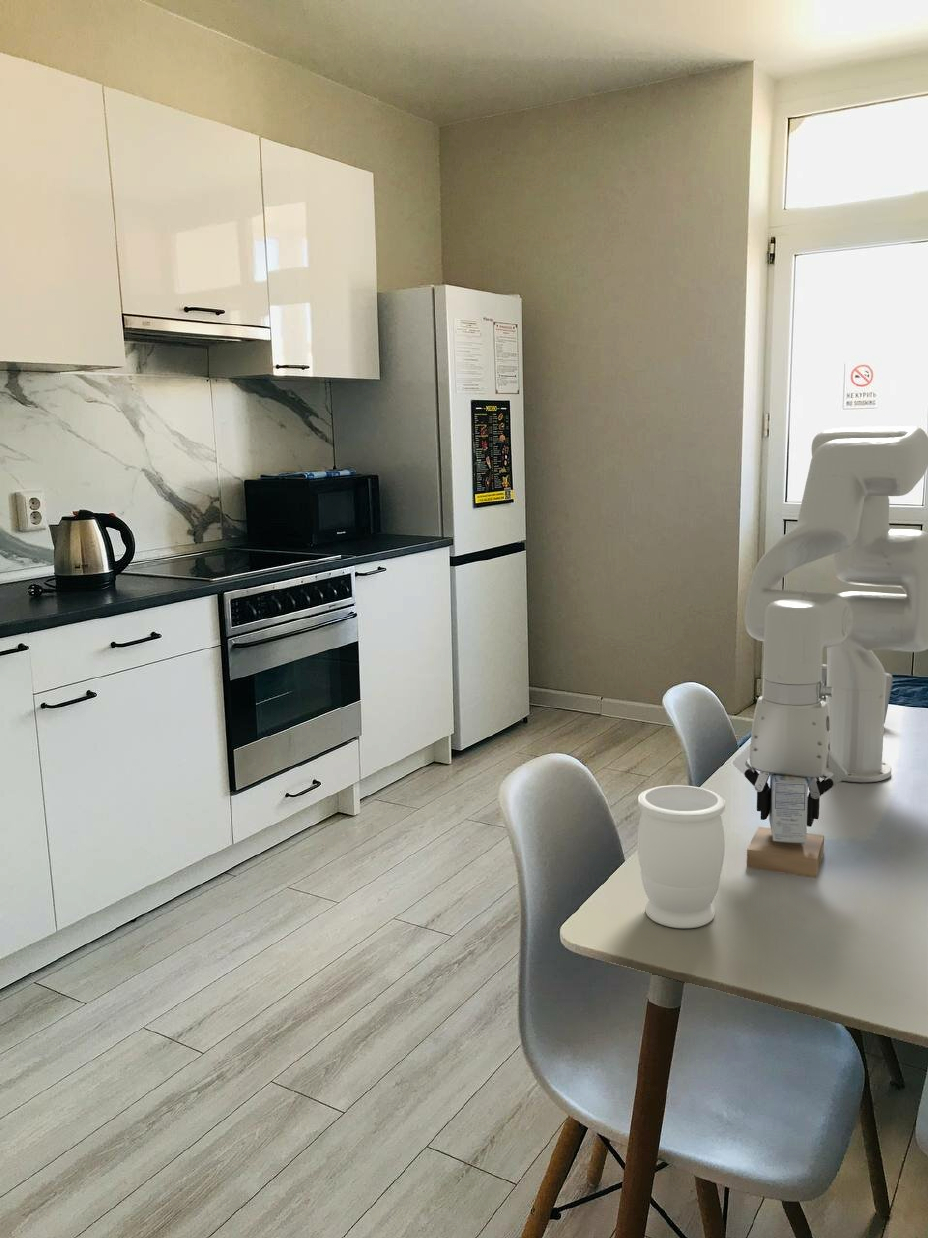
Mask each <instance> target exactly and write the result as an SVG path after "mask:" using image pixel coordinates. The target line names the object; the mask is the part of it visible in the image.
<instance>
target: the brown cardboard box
mask: <svg viewBox="0 0 928 1238" xmlns="http://www.w3.org/2000/svg"><path fill="white" fill-rule="evenodd" d="M824 848H825V835H824V834H818V833H817V834H815V833H809V832H807V836H806V843H805V844H803V843H788V842H776V841H773V836H772V832H771V827H765V826H764V827H763V826H758V827H757V828H756V831H755V832H754V834H753V836H752V839H751V841H750V843H749V845H748V847H747V849H746V851H747V852H746V868H749V869H755V870H763V871H768V872H775V873H781V874H786V875H795V876H802V877H808V878H813V879H815V878H816V879H817V876H818V872H819V870H820V866H821V862H822V860H821V859H823V857H822V856H824V852H825V851H824V850H825V849H824Z"/></svg>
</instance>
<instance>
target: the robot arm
mask: <svg viewBox="0 0 928 1238" xmlns="http://www.w3.org/2000/svg"><path fill="white" fill-rule="evenodd" d="M927 469H928V434H927V433H926V431H925V430H923V429H922V428H920V427H918V426H873V427H872V426H861V427H860V426H857V427H855V426H854V427H840V428H839V427H838V428H830V429H826V430H823V431H821V432H819V433H818V434H816V436H814V438H813V440H812V443H811V461H810V465H809V469H808V474H807V478H806V482H805V486H804V490H803V495H802V499H801V500H802V501H801V503H800V504H801V505H800V508H799V514H798V517H797V523H796V525H795V526H794V527H793V528H792V529H790V530H789V531H787V532H786V533H785V534H783V536H781V537H780V538H779V539H777V540H776V541H775V542H774V543H773V544H772V545H771V546H770V547H769V548H768V549H767V550H766V552H765V553H764V554H763V555H762V556H761V557H760V559H759V561H758V563H757V564H756V566H755V568H754V571H753V574H752V578H751V581H750V586H749V589H748V594H747V598H746V601H745V602H746V604H745V609H744V626H745V629H746V631H747V633H748V634H749V635H750V637H751V638H753V639H755V640H756V641H760V642H763V657H762V658H763V662H762V663H763V664H762V695H761V696H759V697H758V698H757V700H756V701H757V702H756V705H755V709H754V714H753V721H752V725H751V726H752V727H751V728H752V729H751V735H750V736H751V737H750V743H749V745H748V746H746V747H745V748H744V749H743V751H741V752H740V753H739V754H738V755H737V756H736V757H735V758H734V760H733V761H732V764H733V766H734V767H735V768H736V769H737V770H738V771H739V772H741V773H742V774H743V775H744V777H745V778H746V779H747V781H748V782H750V784H751V785H752V786H753V788H754V790H755V791H756V811H757V812H760V820H761V821H766V820H767V819H768V818H769V813H770V790H771V788H770V785H769V783H768V782H769V780H770V774H771V773H774V774H782V775H790V776H798V777H805V778H806V780H807V783H808V801H807V827H812V825H813V823H814V822H815V820H819V818H820V817H819V816H820V801H821V796H823V795H824V794H825V793H827V792H828V791H829V790H830V789H832V788H833V787H834V786H836V785H837V784H840V782H850V783H875V782H880V781H881V782H882V781H885V780H886V779H889V778H890V777H891V776H892V767H891V766H890V765H889V764H888V763H887V762H885V761H883V751H884V749H883V748H884V747H883V746H884V731H885V730H884V729H885V723H884V712H885V692H886V674H885V673H886V670H885V668H884V666H883V664H882V663H881V661H880V660H879V658H878V657H877V655H876V654H875V653H874V651H873V650H876V651H878V650H882V651H883V650H884V651H892V652H893V651H894V652H895V651H897V652H906V653H907V652H908V653H920V652H923V651H926V650H928V531H924V530H920V529H909V528H907V529H906V528H905V529H904V528H891V526H890V498H889V497H900V496H901V497H903V496H905V495H907V494H909V493H910V492H912V490H914V488H915V487H916V486H917V484H918V483H919V482H920V481H921V480H922V479H923V477H924V476H925V473H926V472H927ZM831 555H833V568H834V573H835V576H836V578H837V579H838V580H839V581H841V582H842V583H845V584H849V585H857V586H866V587H867V586H869V587H870V586H872V587H886V588H887V587H888V588H899V589H900V588H901V589H902V590H903V591H904V593H889V592H887V593H886V592H879V591H878V592H875V591H858V590H856V591H855V590H854V591H851V590H850V591H843V592H839V593H832V592H831V593H830V592H818V591H806V590H805V591H804V590H790V589H776V588H777V586H778V584H779V583H780V581H782V579H783V578H784V577H786V576H787V575H788V574H789V573H791V572H792V571H794V570H795V569H797V568H799V567H802V566H804V565H807V564H809V563H811V562H815V561H817V560H821V559H823V558H825V557H828V556H831ZM823 649H826V665H827V685H824V683H822V664H823V655H824V654H823ZM823 697H826V702H825V701H821V699H823ZM748 760H749V762H748ZM822 777H825V778H824V779H822V780H821V778H822Z"/></svg>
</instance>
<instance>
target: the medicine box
mask: <svg viewBox="0 0 928 1238" xmlns="http://www.w3.org/2000/svg"><path fill="white" fill-rule="evenodd" d="M769 788H771V790H770V813H769V815H768V821H769V826H770V827H769V828H771V832H772V836H773V841H776V842H788V843H803V844H805V843H806V836H807V833H808V831H807V828H808V826H807V801H808V795H809V788H808V783H807V780H806V778H805V777H798V776H790V775H782V774H774V773H771V774H770V776H769Z"/></svg>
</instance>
